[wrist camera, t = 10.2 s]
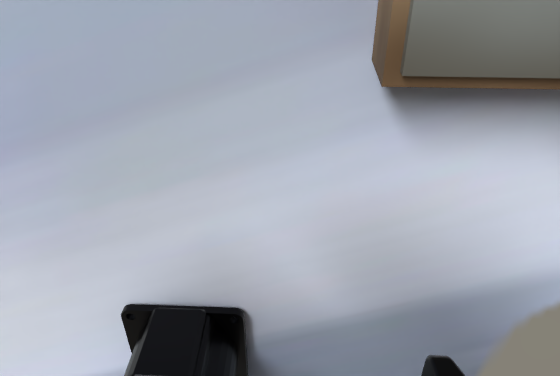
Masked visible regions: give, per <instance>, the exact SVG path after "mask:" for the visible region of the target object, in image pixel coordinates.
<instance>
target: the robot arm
mask: <svg viewBox="0 0 560 376" xmlns="http://www.w3.org/2000/svg"><path fill="white" fill-rule="evenodd" d="M121 317H122V321H123V324H124V328H125V331H126V335H127V338H128V342H129V345H130V349H131V352H132V355H131V358H130V361H129V364H128V366H127V369H126V372H125V375H124V376H248V365H247V349H246V334H245V318H244V313H243V311H242V310H240V309H238V308H224V307H194V306H164V305H135V304H130V305H126V306H125V307H124V309H123V311H122V313H121ZM235 317H236V318H235ZM421 376H465V375H464V374H463V372H462V371H461V370H460V369H459V367H458V366H457V365H456V364H455V362H454V361H453V360H452V359H451V358H450V357H448V356H440V355H429V356H428V357H427V358H426V361H425V364H424V368H423V371H422V375H421Z"/></svg>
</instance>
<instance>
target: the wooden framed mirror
mask: <svg viewBox="0 0 560 376" xmlns="http://www.w3.org/2000/svg"><path fill="white" fill-rule="evenodd" d="M372 62H373V64H374V67H375V70H376V72H377V75H378V78H379V80H380V83H381V86H382V87H440V88H503V89H560V0H379V1H378V9H377V18H376V27H375V36H374V45H373V54H372Z"/></svg>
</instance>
